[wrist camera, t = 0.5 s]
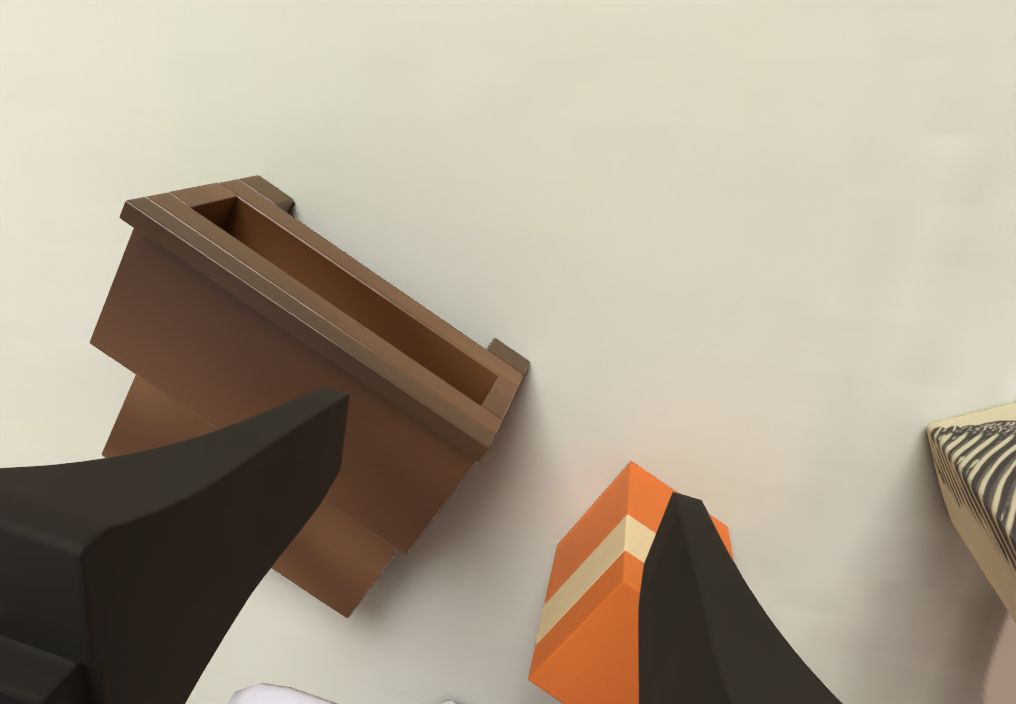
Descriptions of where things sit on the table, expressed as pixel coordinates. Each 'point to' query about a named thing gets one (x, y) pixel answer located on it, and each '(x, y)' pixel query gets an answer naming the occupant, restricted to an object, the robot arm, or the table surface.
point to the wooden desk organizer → (299, 367)
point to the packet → (601, 595)
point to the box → (982, 489)
